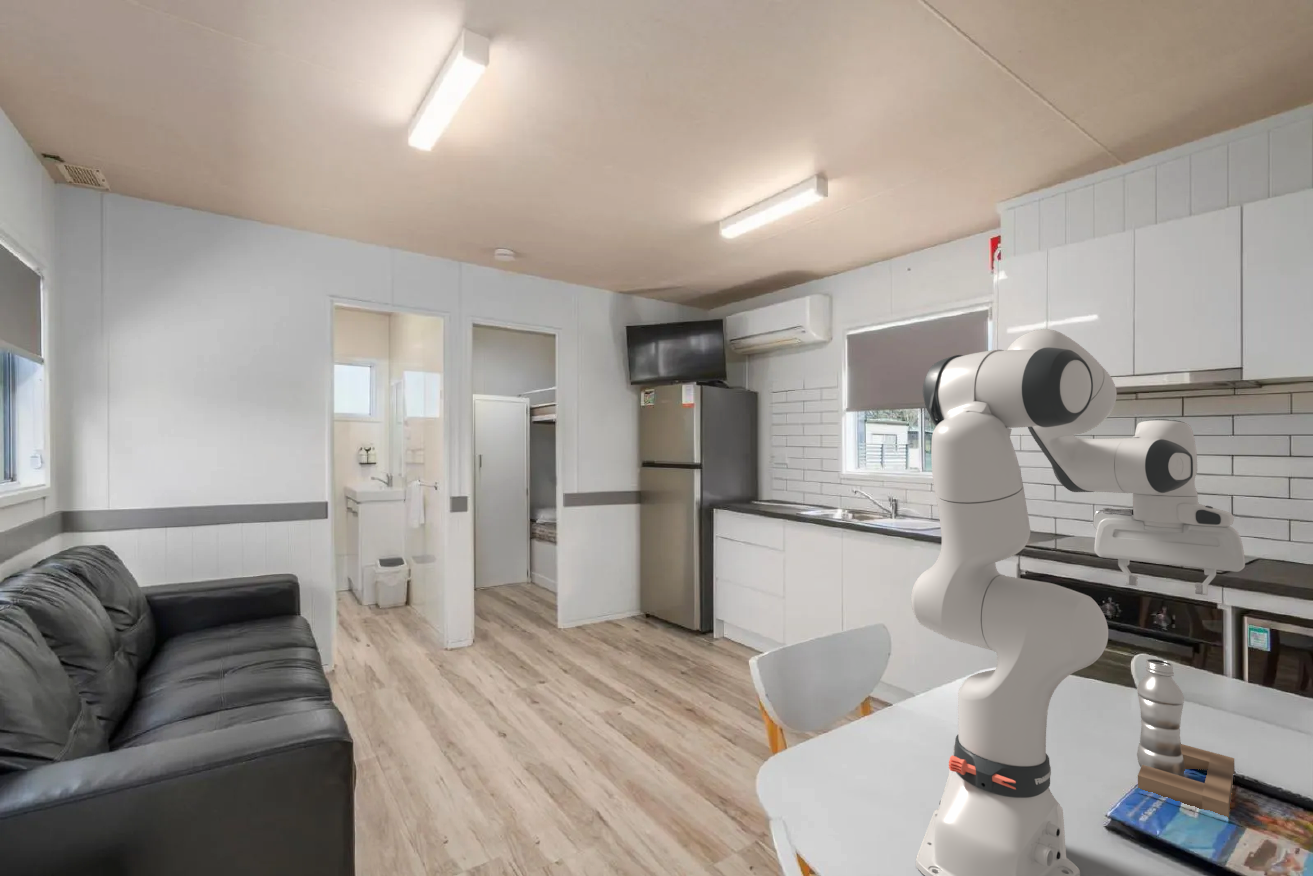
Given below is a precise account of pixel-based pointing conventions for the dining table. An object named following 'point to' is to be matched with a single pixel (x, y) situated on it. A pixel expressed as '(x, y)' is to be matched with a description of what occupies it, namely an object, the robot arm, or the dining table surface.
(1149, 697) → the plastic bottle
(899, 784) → the dining table surface
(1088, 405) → the robot arm
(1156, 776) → the notched board
